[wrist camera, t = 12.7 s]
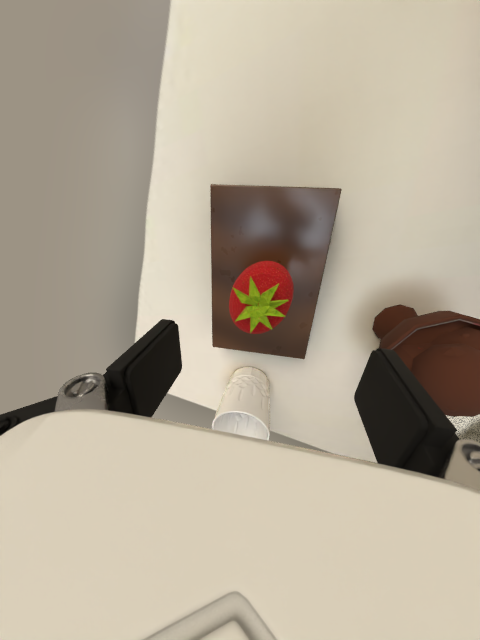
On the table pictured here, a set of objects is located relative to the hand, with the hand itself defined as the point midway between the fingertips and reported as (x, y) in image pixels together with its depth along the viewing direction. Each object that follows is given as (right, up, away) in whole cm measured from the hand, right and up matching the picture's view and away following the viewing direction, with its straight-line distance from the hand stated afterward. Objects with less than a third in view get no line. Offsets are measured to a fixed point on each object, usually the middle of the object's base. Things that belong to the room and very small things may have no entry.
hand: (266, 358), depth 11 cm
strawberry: (+2, +6, +15) cm, 17 cm away
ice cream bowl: (+20, +1, +19) cm, 27 cm away
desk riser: (+2, +8, +19) cm, 21 cm away
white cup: (0, -9, +27) cm, 29 cm away
